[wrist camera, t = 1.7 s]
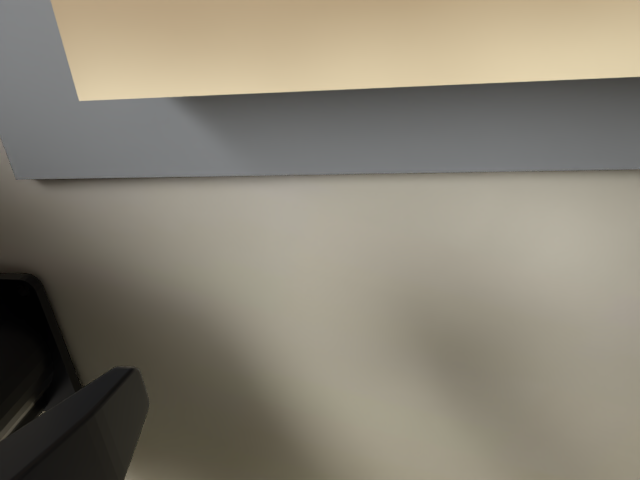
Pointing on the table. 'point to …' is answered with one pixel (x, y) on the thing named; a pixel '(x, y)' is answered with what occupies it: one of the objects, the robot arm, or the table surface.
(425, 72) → the t block
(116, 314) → the table surface
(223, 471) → the table surface
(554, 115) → the mat
